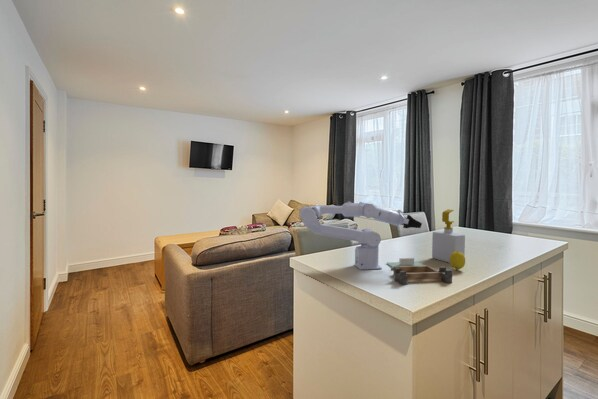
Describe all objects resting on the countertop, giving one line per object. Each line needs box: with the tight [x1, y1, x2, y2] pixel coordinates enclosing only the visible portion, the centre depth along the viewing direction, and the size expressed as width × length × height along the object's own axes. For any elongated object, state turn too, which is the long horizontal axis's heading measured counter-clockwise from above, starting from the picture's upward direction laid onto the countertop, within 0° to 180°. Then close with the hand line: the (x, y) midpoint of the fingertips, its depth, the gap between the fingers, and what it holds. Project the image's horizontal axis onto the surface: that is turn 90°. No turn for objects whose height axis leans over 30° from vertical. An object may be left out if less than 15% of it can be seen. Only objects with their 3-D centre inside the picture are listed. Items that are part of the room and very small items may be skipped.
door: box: [386, 257, 425, 272], centre depth 119 cm, size 17×10×4 cm, turn 95°
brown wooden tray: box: [393, 265, 453, 286], centre depth 104 cm, size 19×11×4 cm, turn 95°
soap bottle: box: [431, 209, 466, 264], centre depth 128 cm, size 12×7×23 cm, turn 23°
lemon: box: [449, 251, 466, 271], centre depth 114 cm, size 6×6×8 cm
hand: (416, 224), depth 120 cm, fingers open, 7 cm apart
